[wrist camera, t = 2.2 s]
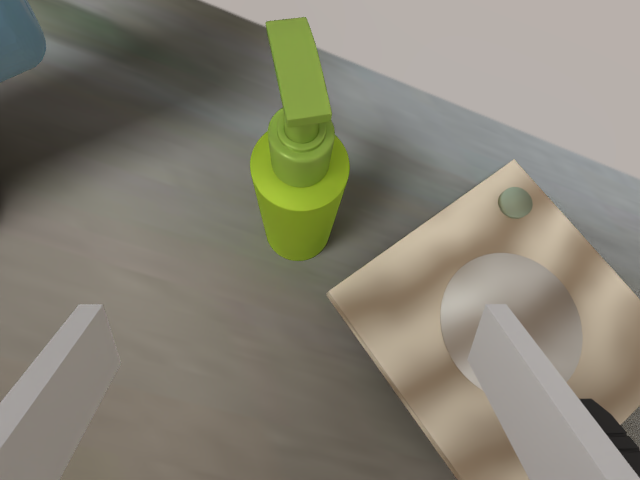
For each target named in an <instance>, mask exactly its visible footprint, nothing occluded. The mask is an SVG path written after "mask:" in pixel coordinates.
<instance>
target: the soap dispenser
mask: <svg viewBox="0 0 640 480" xmlns="http://www.w3.org/2000/svg"><path fill="white" fill-rule="evenodd" d="M266 29H267V35H268V40H269V44H270V48H271V53H272V57H273V62H274V67H275V72H276V76H277V81H278V86H279V91H280V96H281V101H282V105H283V108H281V109H280V110H279V111H277V112H276V113H275V115H274V116H273V117H272V119H271V121H270V123H269V127H268V131H267V132H266V133H265V134H264V135H263V136H262V137H261V138H260V139H259V140H258V142H257V143H256V145H255V147H254V149H253V152H252V155H251V160H250V171H251V176H252V180H253V184H254V188H255V192H256V196H257V200H258V204H259V208H260V212H261V216H262V220H263V224H264V228H265V232H266V236H267V240H268V242H269V244H270V246H271V247H272V249H273V250H274V251H275V252H276V253H277V254H278V255H280V256H281V257H283V258H286V259H288V260H293V261H303V260H307V259H310V258H312V257H314V256H316V255H317V254H319V253H320V252H321V251H322V250H323V248H324V247H325V246H326V244H327V241H328V239H329V236H330V232H331V229H332V226H333V223H334V220H335V217H336V214H337V211H338V208H339V205H340V202H341V199H342V196H343V193H344V189H345V186H346V183H347V180H348V177H349V170H350V165H349V158H348V154H347V152H346V149H345V147H344V145H343V144H342V142H341V141H340V140H339V139H338V137H337V136H336V135H335V131H334V126H333V123H332V121H331V116H332V112H331V107H330V103H329V98H328V94H327V89H326V85H325V81H324V76H323V72H322V68H321V64H320V60H319V56H318V52H317V48H316V45H315V41H314V38H313V35H312V32H311V29H310V26H309V24H308V21H307V19H306V17H302V18H293V19H283V20H274V21H267V22H266Z"/></svg>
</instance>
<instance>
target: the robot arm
mask: <svg viewBox="0 0 640 480" xmlns="http://www.w3.org/2000/svg"><path fill="white" fill-rule="evenodd" d="M45 51H46V41H45V37H44V34H43V32H42V29H41V27H40V25H39V23H38V21H37V19H36V17H35V15H34V13H33V11H32V8H31V7H30V5H29V3H28V1H27V0H0V82H3V81H5V80H7V79H9V78H12V77H14V76H16V75H18V74H21V73H23V72H25V71H27V70H30V69H32V68H34V67H36V66H37V65H38V64H39V63H40V62H41V61H42V59H43V57H44V54H45ZM467 360H468V362H469V364H470V366H471V368H472V370H473V372H474V374H475V375H476V377H477V379H478V381H479V383H480V385H481V387H482V389H483V391H484V393H485V395H486V397H487V399H488V401H489V402H490V404H491V406H492V408H493V410H494V412H495V414H496V416H497V418H498V420H499V422H500V424H501V426H502V428H503V429H504V431H505V433H506V435H507V437H508V439H509V441H510V443H511V445H512V447H513V449H514V451H515V453H516V455H517V456H518V458H519V460H520V462H521V464H522V466H523V468H524V470H525V472H526V474H527V476H528V478H529V480H640V451H639V447H638V446H637V445H636V444H635V443H634V441H633V440H632V439H631V438H630V437H628V436H627V435H626V432H625V430H624V429H623V428H622V427H621V425H620V424H619V423H618V422H617V421H616V419H615V418H614V417H613V416H612V415H611V414H610V413H609V412H608V411H607V410H605V409H604V408H603V407H602V406H600V405H599V404H598V403H597V402H595V401H594V400H593V399H592V398H590V399H579V398H578V397H577V396H576V394H575V393H574V392H573V391H572V389H571V388H570V387H569V385H568V384H567V383H566V381H565V380H564V379H563V377H562V376H561V375H560V374H559V372H558V371H557V370H556V368H555V367H554V366H553V364H552V363H551V362H550V361H549V359H548V358H547V357H546V355H545V354H544V353H543V351H542V350H541V349H540V347H539V346H538V345H537V344H536V342H535V341H534V340H533V338H532V337H531V336H530V334H529V333H528V332H527V331H526V329H525V328H524V327H523V325H522V324H521V323H520V321H519V320H518V319H517V317H516V316H515V315H514V314H513V312H512V311H511V310H510V308H509V307H508V306H507V304H485V307H484V310H483V313H482V316H481V319H480V322H479V325H478V328H477V332H476V335H475V338H474V341H473V344H472V347H471V350H470V353H469V356H468V359H467ZM120 365H121V361H120V358H119V355H118V351H117V348H116V345H115V342H114V338H113V335H112V332H111V329H110V325H109V322H108V319H107V316H106V312H105V309H104V306H103V304H79V305H78V306H77V308H76V309H75V310H74V311H73V313H72V314H71V315H70V316H69V318H68V319H67V320H66V321H65V323H64V324H63V325H62V326H61V328H60V329H59V330H58V331H57V333H56V334H55V335H54V336H53V338H52V339H51V340H50V341H49V343H48V344H47V345H46V346H45V348H44V349H43V350H42V351H41V353H40V354H39V355H38V356H37V358H36V359H35V360H34V361H33V363H32V364H31V365H30V366H29V368H28V369H27V370H26V371H25V373H24V374H23V375H22V376H21V378H20V379H19V380H18V381H17V383H16V384H15V385H14V386H13V388H12V389H11V390H10V391H9V393H8V394H7V395H6V396H5V398H4V399H3V400H2V401H1V403H0V480H60V478H61V476H62V474H63V472H64V470H65V468H66V466H67V464H68V463H69V461H70V459H71V457H72V455H73V453H74V451H75V449H76V448H77V446H78V444H79V442H80V440H81V438H82V436H83V434H84V432H85V431H86V429H87V427H88V425H89V423H90V421H91V419H92V417H93V415H94V414H95V412H96V410H97V408H98V406H99V404H100V402H101V400H102V399H103V397H104V395H105V393H106V391H107V389H108V387H109V385H110V383H111V382H112V380H113V378H114V376H115V374H116V372H117V370H118V368H119V367H120Z"/></svg>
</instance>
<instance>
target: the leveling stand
mask: <svg viewBox="0 0 640 480" xmlns="http://www.w3.org/2000/svg"><path fill="white" fill-rule="evenodd" d="M326 295H327V297H328V298H329V300H330V301H331V302H332V304H333V305H334V307H335V308H336V309H337V311H338V312H339V314H340V315H341V316H342V318H343V319H344V321H345V322H346V324H347V325H348V326H349V328H350V329H351V331H352V332H353V333H354V335H355V336H356V338H357V339H358V340H359V342H360V343H361V345H362V346H363V347H364V349H365V350H366V352H367V353H368V354H369V356H370V357H371V359H372V360H373V362H374V363H375V364H376V366H377V367H378V369H379V370H380V371H381V373H382V374H383V376H384V377H385V378H386V380H387V381H388V383H389V384H390V385H391V387H392V388H393V390H394V391H395V393H396V394H397V395H398V397H399V398H400V400H401V401H402V402H403V404H404V405H405V407H406V408H407V409H408V411H409V412H410V414H411V415H412V416H413V418H414V419H415V421H416V422H417V423H418V425H419V426H420V428H421V429H422V431H423V432H424V433H425V435H426V436H427V438H428V439H429V440H430V442H431V443H432V445H433V446H434V447H435V449H436V450H437V452H438V453H439V454H440V456H441V457H442V459H443V460H444V461H445V463H446V464H447V466H448V467H449V469H450V470H451V471H452V473H453V474H454V476H455V477H456V478H457V480H529V478H528V476H527V474H526V472H525V470H524V468H523V466H522V464H521V462H520V460H519V458H518V456H517V455H516V453H515V451H514V449H513V447H512V445H511V443H510V441H509V439H508V437H507V435H506V433H505V431H504V429H503V428H502V426H501V424H500V422H499V420H498V418H497V416H496V414H495V412H494V410H493V408H492V406H491V404H490V402H489V401H488V399H487V397H486V395H485V393H484V391H483V389H482V387H481V385H480V383H479V381H478V379H477V377H476V375H475V374H474V372H473V370H472V368H471V366H470V364H469V362H468V360H467V359H468V356H469V353H470V350H471V347H472V344H473V341H474V338H475V335H476V332H477V328H478V325H479V322H480V319H481V316H482V313H483V310H484V307H485V304H507V306H508V307H509V308H510V310H511V311H512V312H513V314H514V315H515V316H516V317H517V319H518V320H519V321H520V323H521V324H522V325H523V327H524V328H525V329H526V331H527V332H528V333H529V334H530V336H531V337H532V338H533V340H534V341H535V342H536V344H537V345H538V346H539V347H540V349H541V350H542V351H543V353H544V354H545V355H546V357H547V358H548V359H549V361H550V362H551V363H552V364H553V366H554V367H555V368H556V370H557V371H558V372H559V374H560V375H561V376H562V377H563V379H564V380H565V381H566V383H567V384H568V385H569V387H570V388H571V389H572V391H573V392H574V393H575V394H576V396H577V397H578V398H579V399H590V398H592V399H593V400H594V401H595V402H597V403H598V404H599V405H600V406H602V407H603V408H604V409H605V410H607V411H608V412H609V413H610V414H611V415H612V416H613V417H614V418H615V419H616V421H617V422H618V423H619V424H620V425H621V424H622V423H623V422H624V421H625V420H626V419H627V418H628V417H629V416H630V415H631V414H632V413H633V412H634V411H635V410H636V409H637V408H638V407H639V406H640V299H639V298H638V297H637V296H636V295H635V294H634V292H633V291H632V290H631V289H630V288H629V287H628V286H627V285H626V284H625V282H624V281H623V280H622V279H621V278H620V277H619V276H618V275H617V274H616V272H615V271H614V270H613V269H612V268H611V267H610V266H609V265H608V263H607V262H606V261H605V260H604V259H603V258H602V257H601V256H600V255H599V253H598V252H597V251H596V250H595V249H594V248H593V247H592V246H591V245H590V243H589V242H588V241H587V240H586V239H585V238H584V237H583V236H582V234H581V233H580V232H579V231H578V230H577V229H576V228H575V227H574V226H573V224H572V223H571V222H570V221H569V220H568V219H567V218H566V217H565V215H564V214H563V213H562V212H561V211H560V210H559V209H558V208H557V207H556V205H555V204H554V203H553V202H552V201H551V200H550V199H549V198H548V197H547V195H546V194H545V193H544V192H543V191H542V190H541V189H540V188H539V186H538V185H537V184H536V183H535V182H534V181H533V180H532V179H531V178H530V176H529V175H528V174H527V173H526V172H525V171H524V170H523V169H522V167H521V166H520V165H519V164H518V163H517V162H516V161H515V160H512V161H511V162H510V163H508V164H507V165H505V166H504V167H503V168H501V169H500V170H498V171H497V172H495V173H494V174H493V175H491V176H490V177H488V178H487V179H486V180H484V181H483V182H481V183H480V184H479V185H477V186H476V187H474V188H473V189H472V190H470V191H469V192H467V193H466V194H465V195H463V196H462V197H460V198H459V199H457V200H456V201H455V202H453V203H452V204H450V205H449V206H448V207H446V208H445V209H443V210H442V211H441V212H439V213H438V214H436V215H435V216H434V217H432V218H431V219H429V220H428V221H427V222H425V223H424V224H422V225H421V226H419V227H418V228H417V229H415V230H414V231H412V232H411V233H410V234H408V235H407V236H405V237H404V238H403V239H401V240H400V241H398V242H397V243H396V244H394V245H393V246H391V247H390V248H389V249H387V250H386V251H384V252H383V253H381V254H380V255H379V256H377V257H376V258H374V259H373V260H372V261H370V262H369V263H367V264H366V265H365V266H363V267H362V268H360V269H359V270H358V271H356V272H355V273H353V274H352V275H351V276H349V277H348V278H346V279H345V280H343V281H342V282H341V283H339V284H338V285H336V286H335V287H334V288H332V289H331V290H329V291H328V293H327V294H326Z"/></svg>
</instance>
